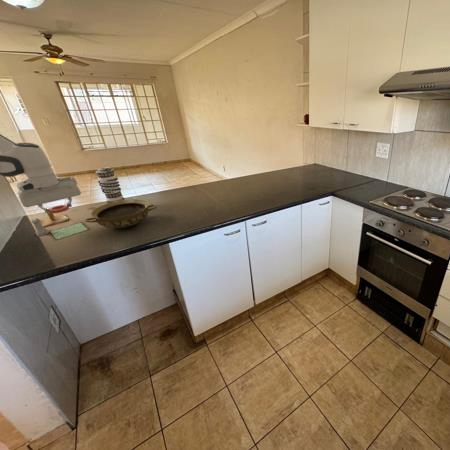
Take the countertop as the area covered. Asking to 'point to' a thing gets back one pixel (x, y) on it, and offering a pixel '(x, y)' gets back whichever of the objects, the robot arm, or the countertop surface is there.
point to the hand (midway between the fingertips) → (59, 209)
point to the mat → (68, 231)
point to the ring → (58, 209)
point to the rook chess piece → (39, 227)
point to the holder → (53, 220)
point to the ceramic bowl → (121, 213)
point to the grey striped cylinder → (109, 184)
